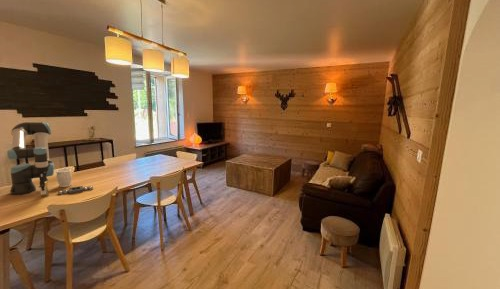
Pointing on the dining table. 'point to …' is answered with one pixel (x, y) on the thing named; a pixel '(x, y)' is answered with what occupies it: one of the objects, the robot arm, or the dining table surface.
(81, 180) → the dining table surface
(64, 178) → the jar
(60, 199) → the dining table surface
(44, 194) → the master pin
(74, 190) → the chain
